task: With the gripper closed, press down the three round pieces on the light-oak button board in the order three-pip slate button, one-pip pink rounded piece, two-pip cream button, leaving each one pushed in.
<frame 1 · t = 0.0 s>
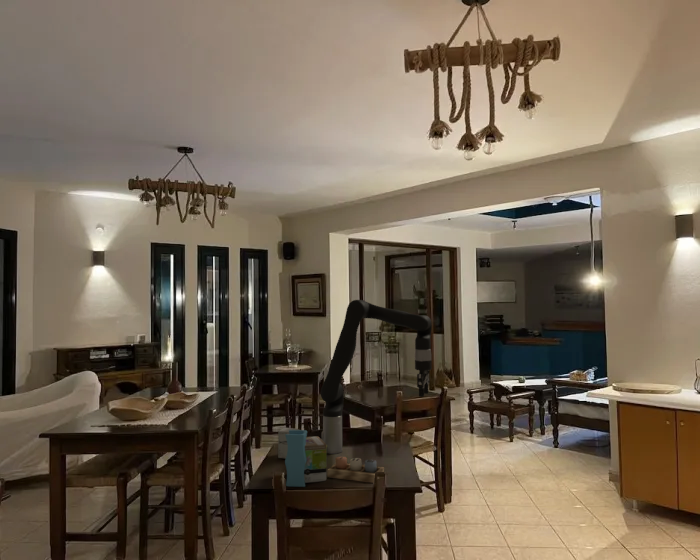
hand: (423, 395, 242), 29 cm above the table, tool pointing down, fingers open, 8 cm apart
pink rounded piece: (341, 462, 223), point 5 cm above the table, slide at 0.0 cm
vase: (297, 483, 212), on the table, touching tea box
button board: (355, 475, 221), on the table
tea box: (311, 477, 220), on the table, touching vase
supplement box: (288, 457, 249), on the table
plant pot: (316, 466, 235), on the table
cream button: (355, 464, 221), point 5 cm above the table, slide at 0.0 cm
slate button: (370, 466, 218), point 5 cm above the table, slide at 0.0 cm
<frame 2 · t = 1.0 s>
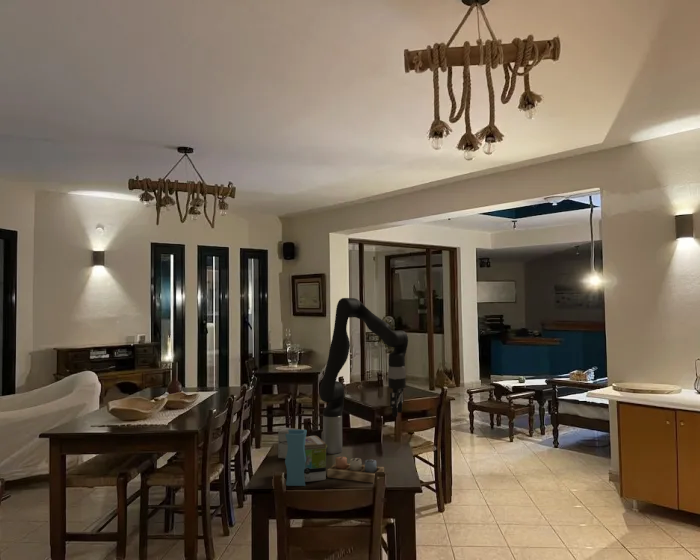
hand: (397, 414, 230), 23 cm above the table, tool pointing down, fingers open, 8 cm apart
vase: (296, 482, 213), on the table, touching tea box
tea box: (310, 476, 221), on the table, touching vase
everything else where it was.
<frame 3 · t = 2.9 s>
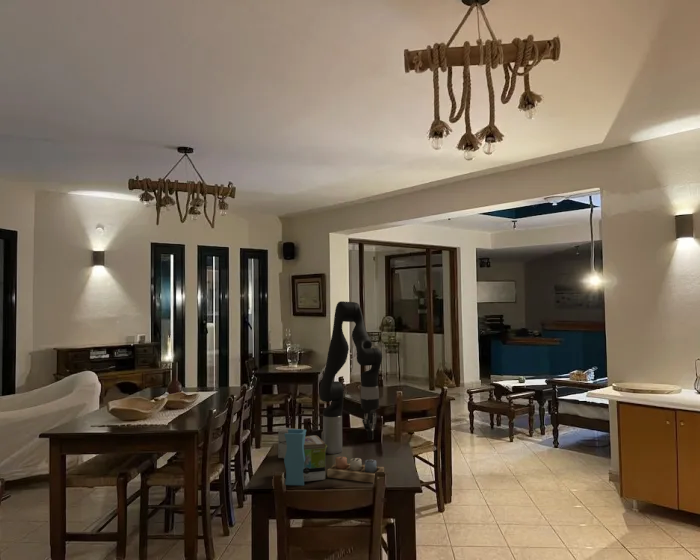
hand: (370, 439, 219), 15 cm above the table, tool pointing down, fingers closed
tea box: (310, 475, 222), on the table, touching vase
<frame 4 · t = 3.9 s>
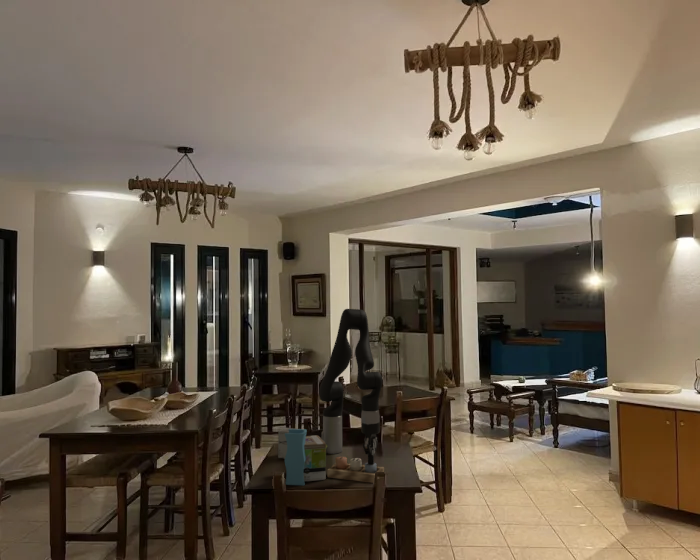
hand: (371, 463, 218), 6 cm above the table, tool pointing down, fingers closed
vase: (296, 482, 214), on the table, touching tea box
slate button: (370, 468, 218), point 3 cm above the table, slide at -1.1 cm, touching gripper
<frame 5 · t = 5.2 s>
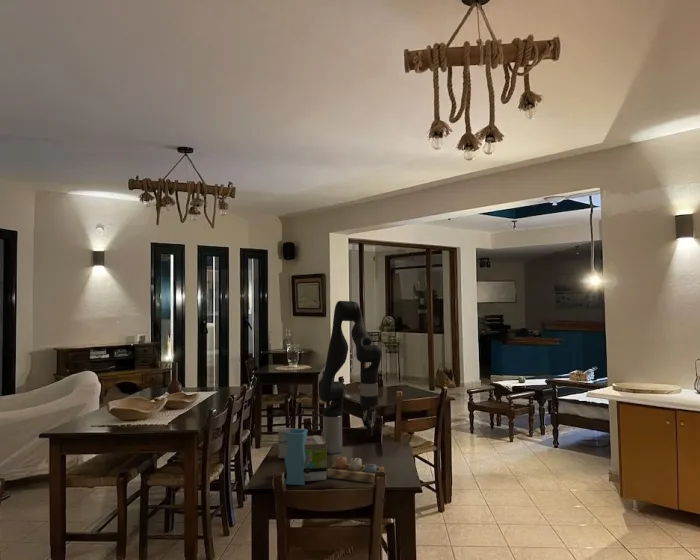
hand: (369, 436, 219), 17 cm above the table, tool pointing down, fingers closed
slate button: (370, 470, 218), point 3 cm above the table, slide at -1.7 cm
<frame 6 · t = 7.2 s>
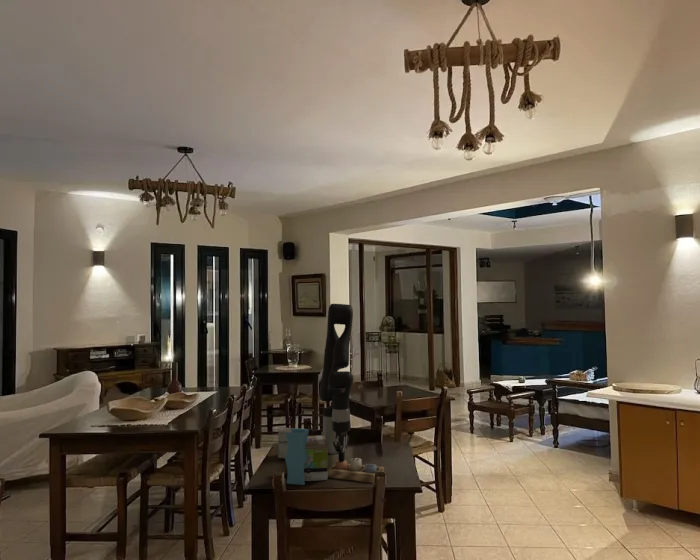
hand: (341, 461, 223), 5 cm above the table, tool pointing down, fingers closed
pink rounded piece: (341, 466, 223), point 3 cm above the table, slide at -1.3 cm, touching gripper
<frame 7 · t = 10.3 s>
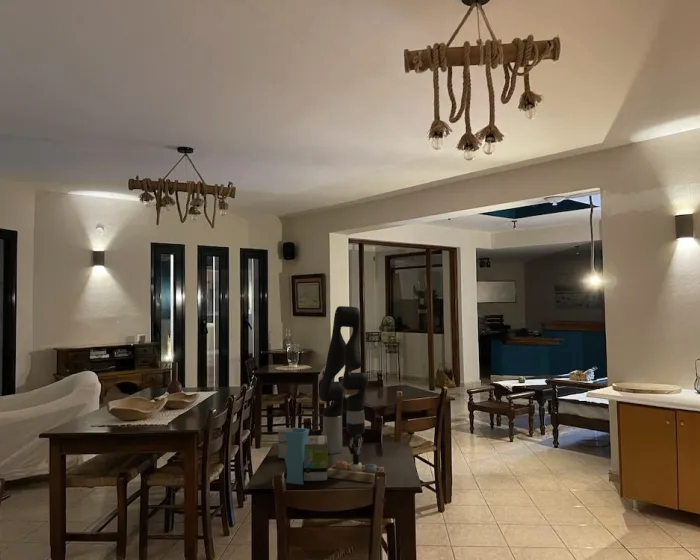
hand: (356, 463, 221), 5 cm above the table, tool pointing down, fingers closed
pink rounded piece: (341, 467, 223), point 3 cm above the table, slide at -1.7 cm
cream button: (355, 468, 221), point 3 cm above the table, slide at -1.6 cm, touching gripper
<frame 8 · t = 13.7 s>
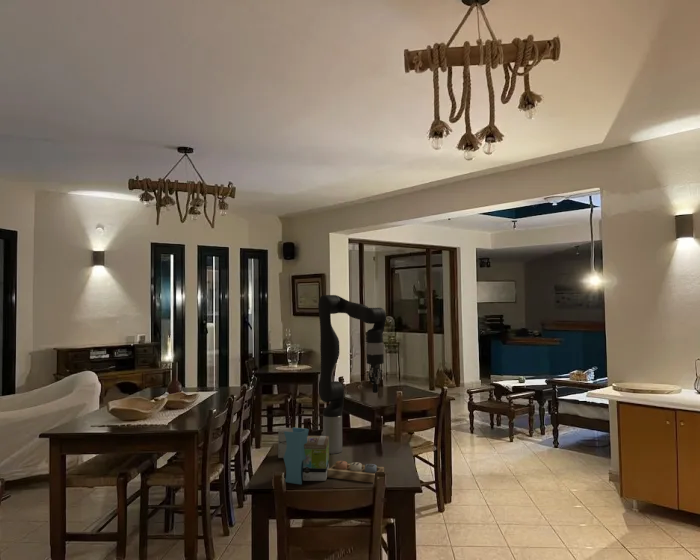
hand: (375, 392, 234), 32 cm above the table, tool pointing down, fingers closed
cream button: (355, 468, 221), point 3 cm above the table, slide at -1.7 cm
at the end: slate button slide at -1.7 cm; pink rounded piece slide at -1.7 cm; cream button slide at -1.7 cm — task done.
